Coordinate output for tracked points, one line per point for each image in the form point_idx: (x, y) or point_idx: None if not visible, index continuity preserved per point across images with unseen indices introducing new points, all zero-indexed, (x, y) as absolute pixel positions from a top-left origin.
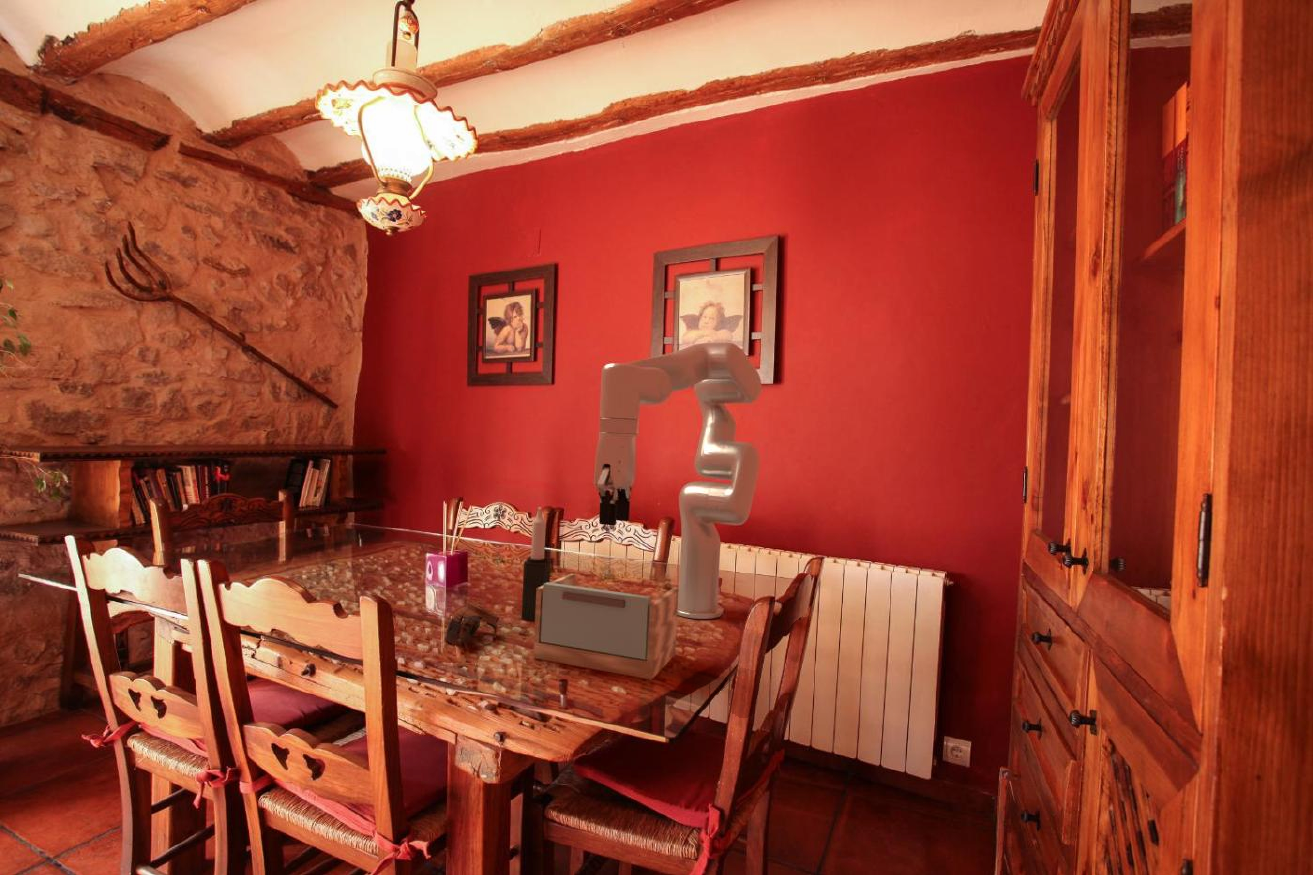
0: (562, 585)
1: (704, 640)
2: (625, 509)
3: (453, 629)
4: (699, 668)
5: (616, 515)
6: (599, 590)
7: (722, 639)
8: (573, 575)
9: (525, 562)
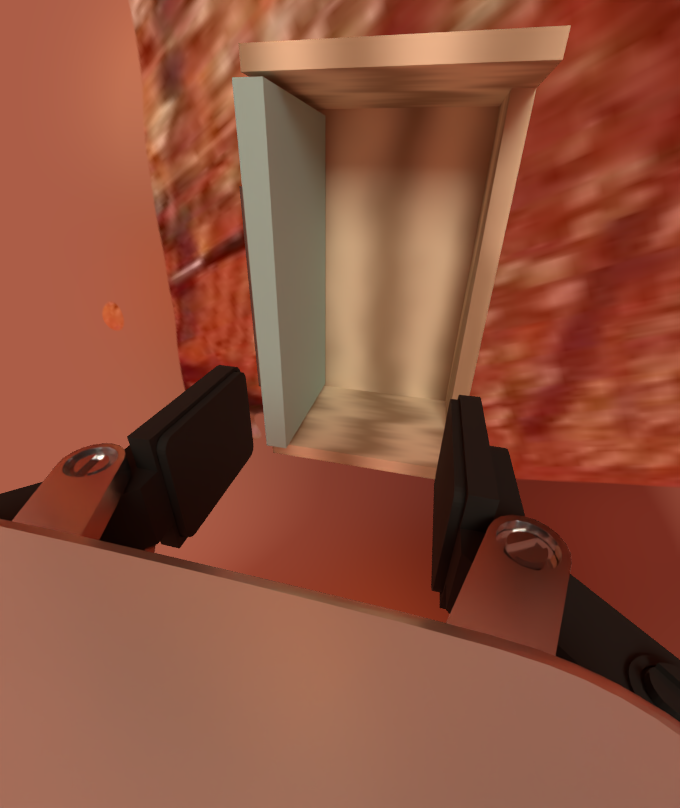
0: (254, 169)
1: (562, 438)
2: (435, 526)
3: None
4: None
5: (446, 434)
6: (267, 316)
7: (577, 468)
8: (543, 61)
9: None
